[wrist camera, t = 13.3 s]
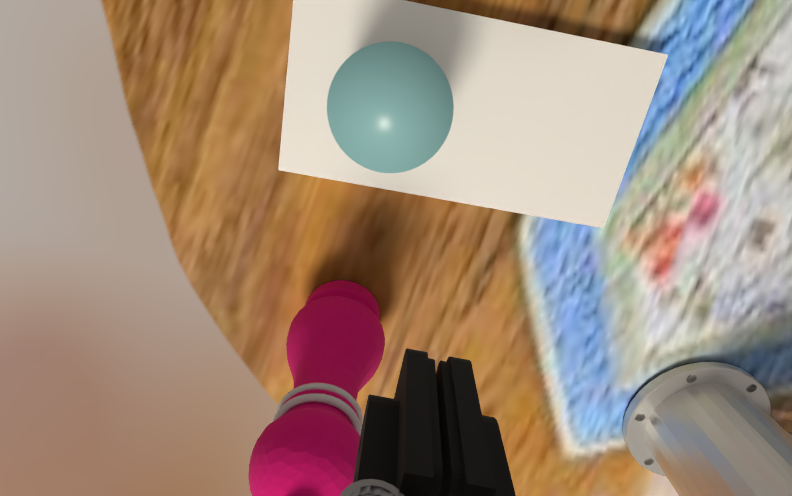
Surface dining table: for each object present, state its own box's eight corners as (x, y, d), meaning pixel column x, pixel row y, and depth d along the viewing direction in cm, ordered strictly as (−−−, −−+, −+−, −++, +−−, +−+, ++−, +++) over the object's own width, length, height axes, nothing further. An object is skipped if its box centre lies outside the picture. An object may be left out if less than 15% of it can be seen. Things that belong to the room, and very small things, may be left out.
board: (655, 55, 31) (726, 52, 24) (595, 221, 35) (641, 257, 29) (300, -18, 30) (272, -42, 23) (283, 165, 34) (255, 190, 27)
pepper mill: (319, 259, 37) (240, 459, 18) (400, 295, 38) (404, 517, 19) (286, 329, 39) (186, 569, 21) (363, 361, 40) (335, 615, 22)
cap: (453, 57, 29) (466, 55, 23) (431, 161, 31) (438, 183, 25) (347, 36, 28) (335, 29, 23) (333, 143, 31) (319, 161, 25)
